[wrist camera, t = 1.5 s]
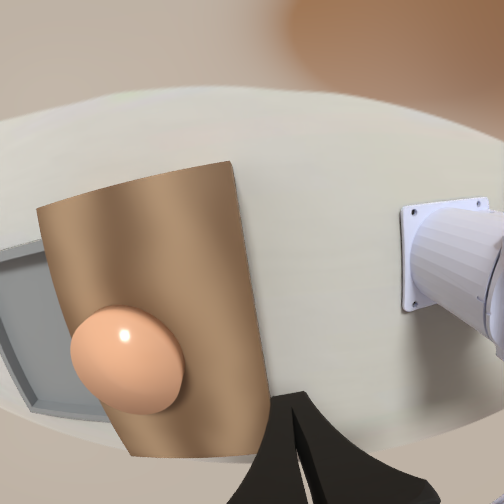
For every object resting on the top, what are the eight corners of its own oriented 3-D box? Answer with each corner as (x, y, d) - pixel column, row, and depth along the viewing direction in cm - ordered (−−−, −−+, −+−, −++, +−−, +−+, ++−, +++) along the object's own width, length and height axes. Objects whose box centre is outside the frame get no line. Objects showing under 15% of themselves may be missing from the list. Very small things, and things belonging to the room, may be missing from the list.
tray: (70, 231, 19) (57, 235, 17) (131, 410, 22) (125, 423, 20) (-19, 256, 19) (-31, 260, 17) (38, 402, 22) (30, 412, 20)
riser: (232, 166, 18) (229, 160, 14) (273, 417, 23) (278, 450, 19) (68, 203, 18) (36, 208, 14) (142, 425, 23) (131, 455, 19)
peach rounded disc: (168, 297, 16) (161, 309, 14) (197, 397, 17) (194, 413, 16) (67, 309, 16) (54, 319, 14) (104, 399, 17) (96, 412, 16)
